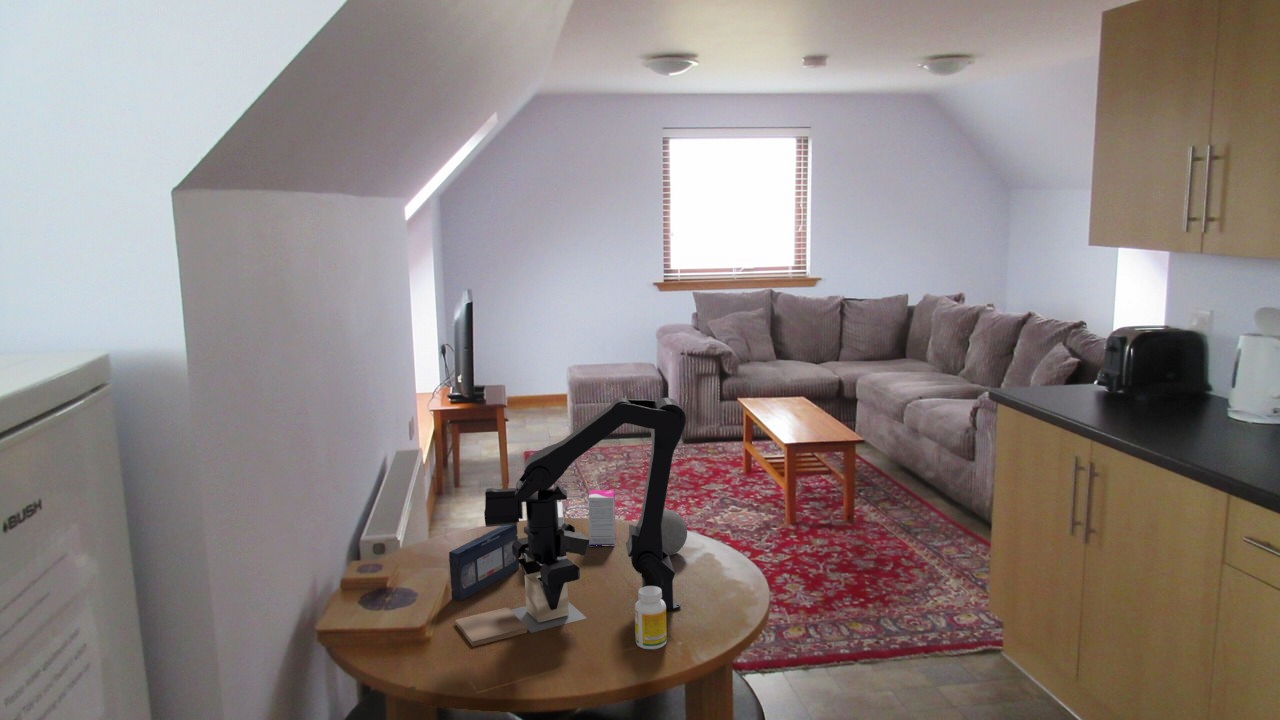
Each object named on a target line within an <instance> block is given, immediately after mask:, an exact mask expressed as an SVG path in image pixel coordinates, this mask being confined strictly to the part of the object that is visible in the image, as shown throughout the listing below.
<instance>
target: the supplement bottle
mask: <svg viewBox="0 0 1280 720" xmlns="http://www.w3.org/2000/svg"><path fill="white" fill-rule="evenodd" d="M637 594H638V595H637V597H638V600H636V601H637V602H636V604H634V628H635V630H634V632H635V643H636V645H637V647H640V648H641V649H645V650H657V649H660V648H662V647H664V646H665V645H666V643H667V640H668V637H667V635H668V633H667V612H666V604H665V602H664V601H663V600H662V599H661V598H662V590H661V589H660V588H659V587H656V586H645V587H642V586H641V587H640V588H638V592H637Z"/></svg>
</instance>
